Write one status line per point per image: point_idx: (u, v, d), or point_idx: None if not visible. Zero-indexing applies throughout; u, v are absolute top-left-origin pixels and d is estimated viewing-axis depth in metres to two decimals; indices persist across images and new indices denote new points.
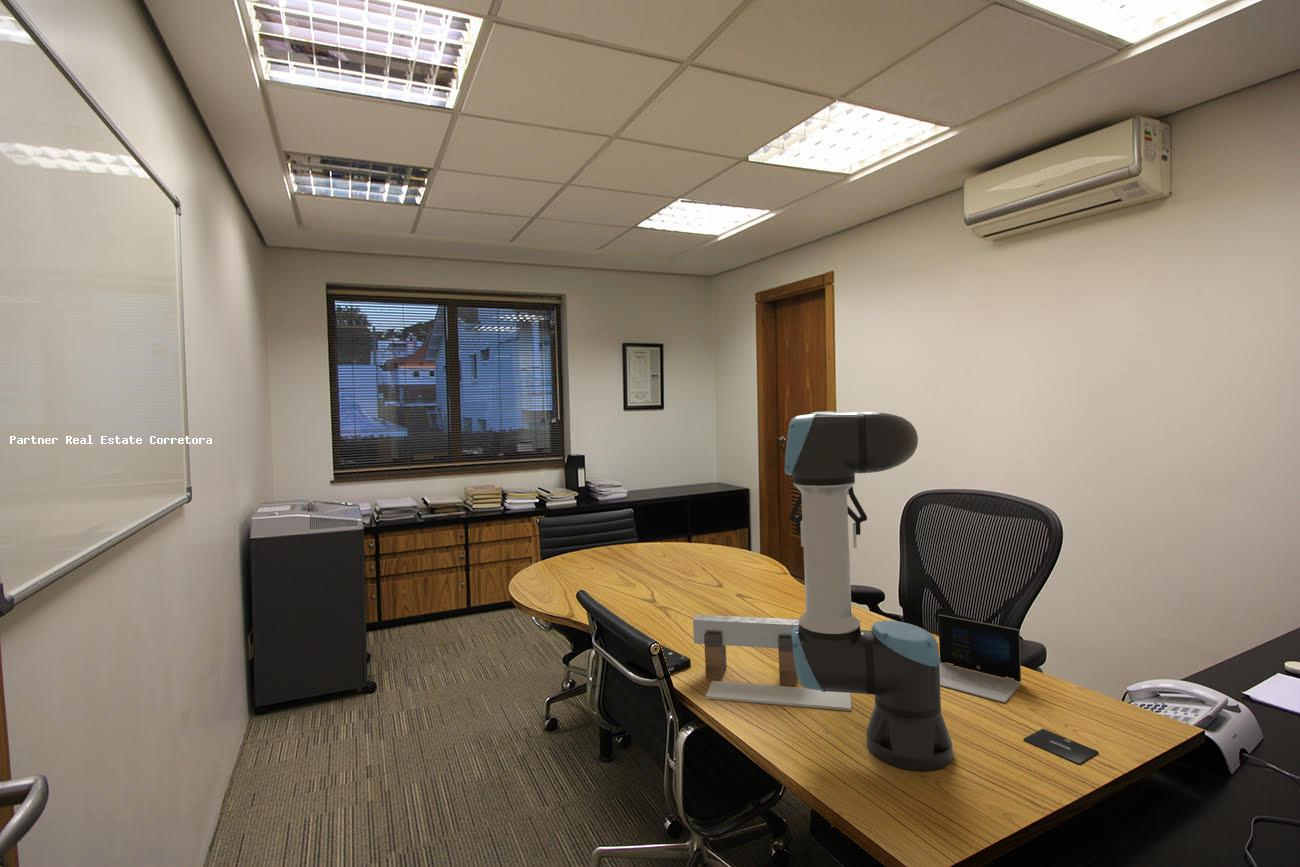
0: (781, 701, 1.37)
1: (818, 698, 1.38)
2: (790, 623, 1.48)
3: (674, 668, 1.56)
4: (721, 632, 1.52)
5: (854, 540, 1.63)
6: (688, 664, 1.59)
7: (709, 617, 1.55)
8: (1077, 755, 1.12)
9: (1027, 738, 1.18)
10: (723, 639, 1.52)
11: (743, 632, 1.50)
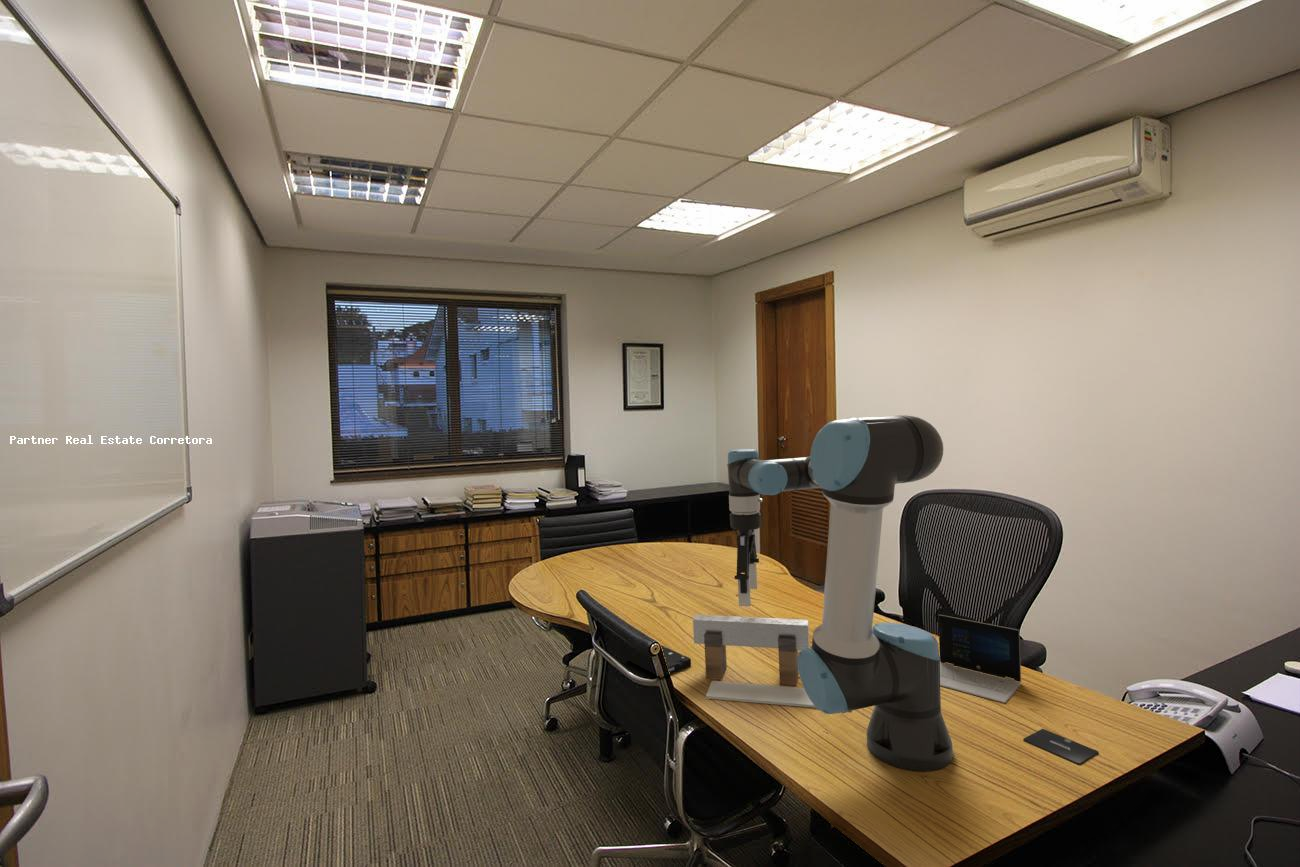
0: (781, 701, 1.37)
1: None
2: (790, 623, 1.48)
3: (675, 668, 1.56)
4: (721, 632, 1.52)
5: None
6: (688, 664, 1.59)
7: (709, 617, 1.55)
8: (1077, 755, 1.12)
9: (1027, 738, 1.18)
10: (723, 639, 1.52)
11: (743, 632, 1.50)
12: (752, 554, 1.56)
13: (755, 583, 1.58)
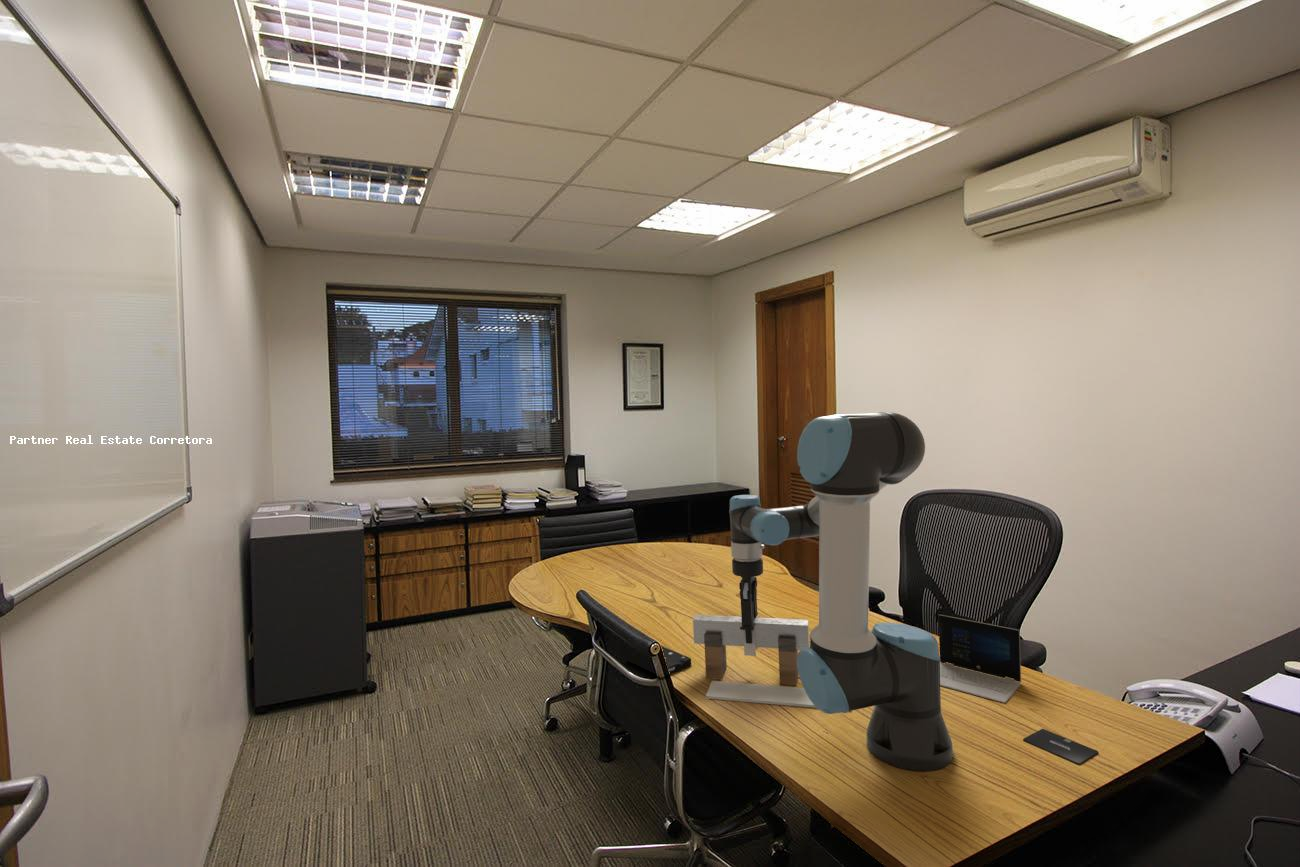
0: (781, 701, 1.37)
1: None
2: (790, 623, 1.48)
3: (675, 668, 1.56)
4: (721, 632, 1.52)
5: (744, 646, 1.50)
6: (689, 664, 1.59)
7: (709, 617, 1.55)
8: (1076, 755, 1.12)
9: (1027, 738, 1.18)
10: (723, 639, 1.52)
11: None
12: (753, 607, 1.53)
13: None
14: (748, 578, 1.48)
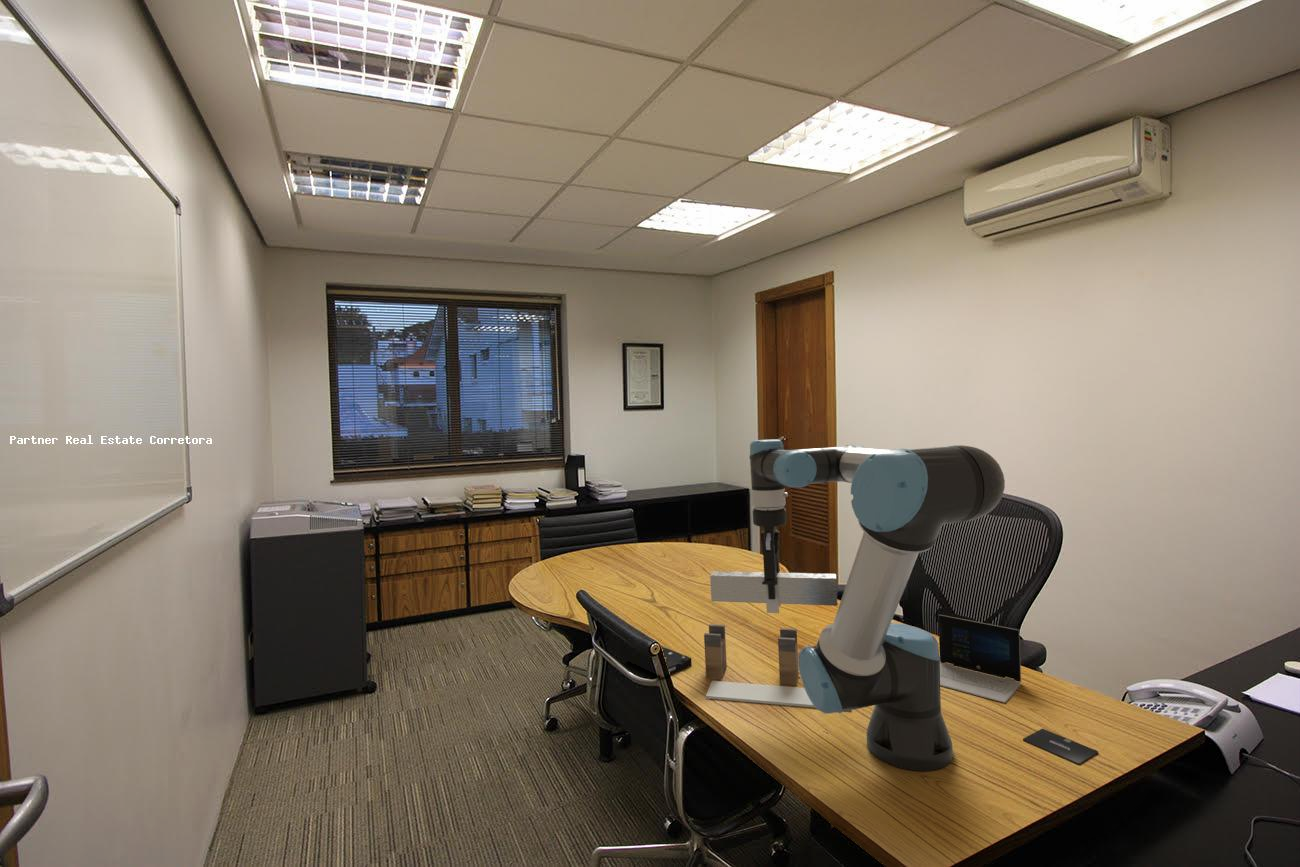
0: (781, 701, 1.37)
1: None
2: (817, 577, 1.36)
3: (676, 667, 1.56)
4: (740, 589, 1.40)
5: (766, 603, 1.38)
6: (689, 663, 1.59)
7: (727, 573, 1.43)
8: (1076, 755, 1.12)
9: (1027, 738, 1.18)
10: (743, 595, 1.40)
11: (765, 587, 1.38)
12: (775, 562, 1.41)
13: None
14: (771, 528, 1.36)
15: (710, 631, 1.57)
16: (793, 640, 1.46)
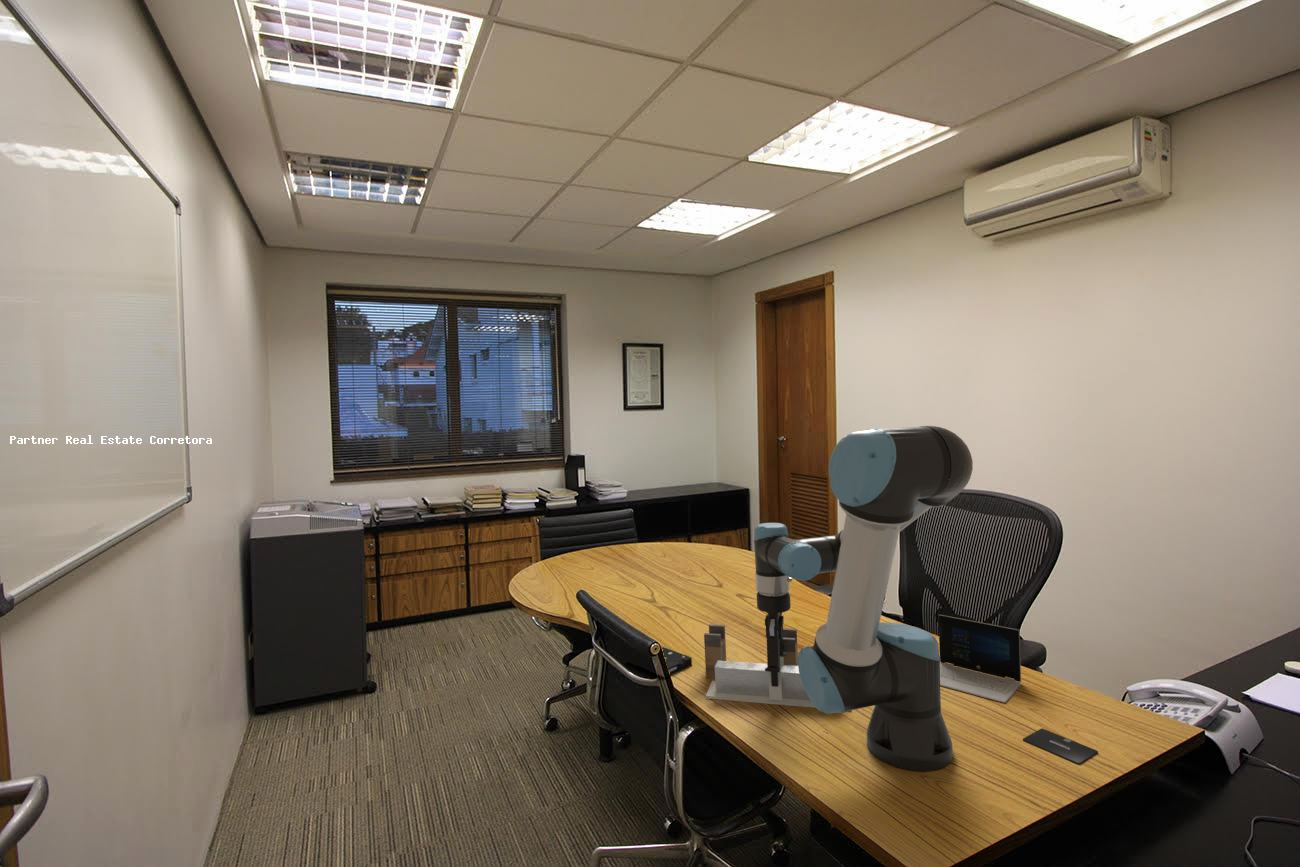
0: (781, 701, 1.37)
1: None
2: None
3: (677, 667, 1.56)
4: (745, 682, 1.41)
5: (769, 689, 1.37)
6: (689, 663, 1.59)
7: (732, 664, 1.44)
8: (1076, 755, 1.12)
9: (1026, 738, 1.18)
10: (748, 689, 1.41)
11: None
12: (779, 643, 1.42)
13: None
14: (775, 613, 1.36)
15: (710, 631, 1.57)
16: (793, 640, 1.46)
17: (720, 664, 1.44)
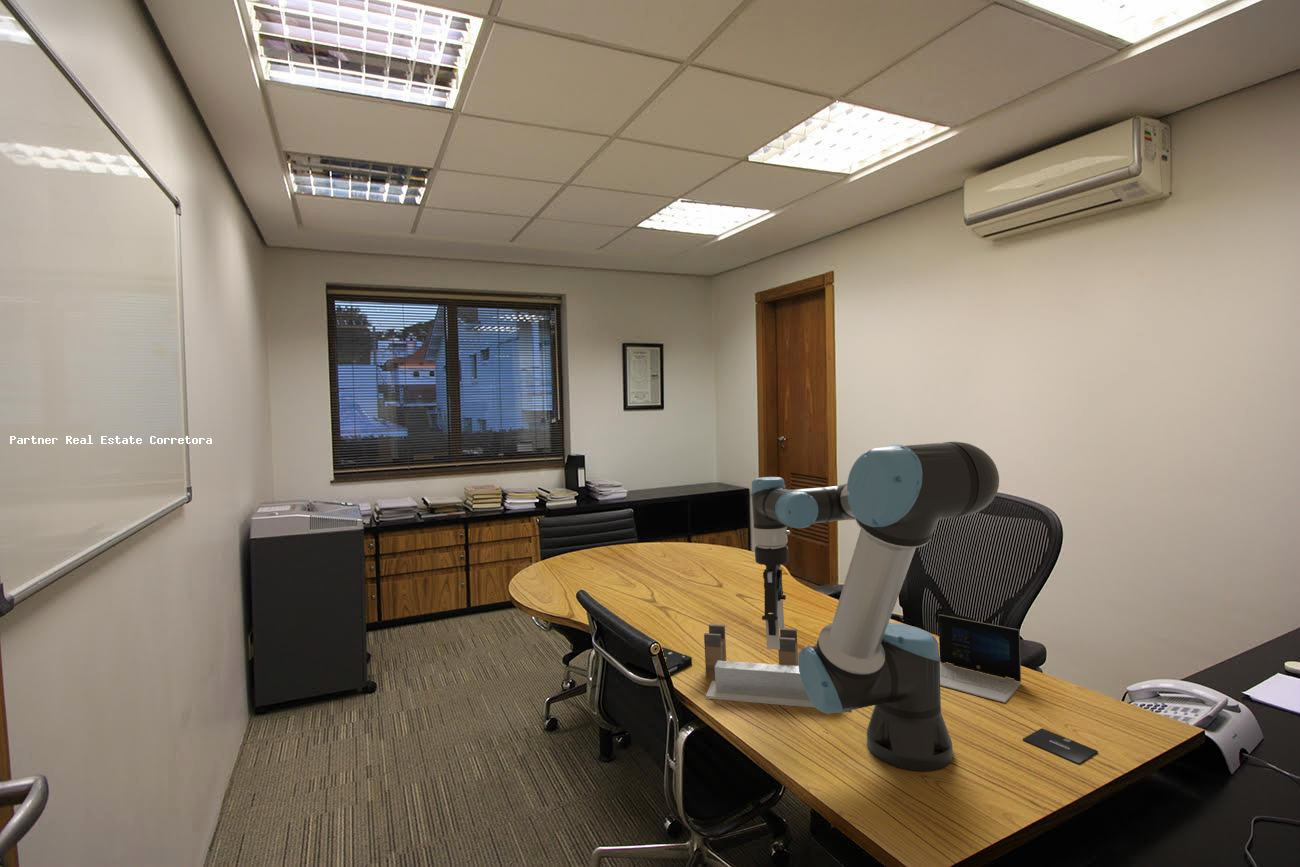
0: (781, 701, 1.37)
1: None
2: None
3: (677, 667, 1.56)
4: (745, 682, 1.41)
5: None
6: (690, 663, 1.60)
7: (732, 664, 1.44)
8: (1076, 755, 1.12)
9: (1026, 738, 1.18)
10: (748, 689, 1.41)
11: (770, 682, 1.39)
12: (779, 591, 1.44)
13: (782, 622, 1.46)
14: None
15: (710, 631, 1.57)
16: (793, 640, 1.46)
17: (720, 664, 1.44)
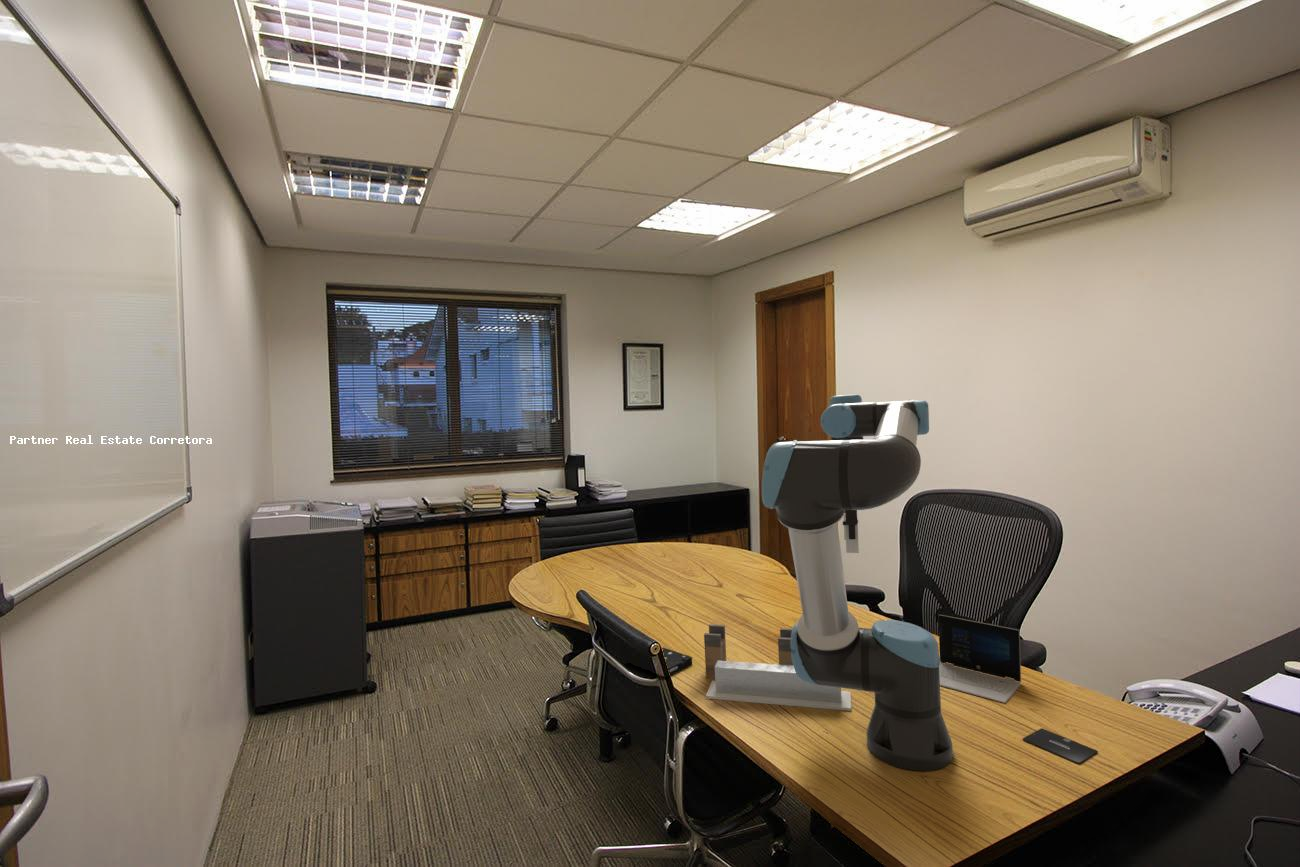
0: (781, 701, 1.37)
1: None
2: None
3: (678, 667, 1.56)
4: (745, 682, 1.41)
5: (846, 543, 1.43)
6: (690, 662, 1.60)
7: (732, 664, 1.44)
8: (1076, 754, 1.12)
9: (1026, 738, 1.18)
10: (748, 689, 1.41)
11: (770, 682, 1.39)
12: None
13: None
14: None
15: (710, 631, 1.57)
16: None
17: (720, 664, 1.44)
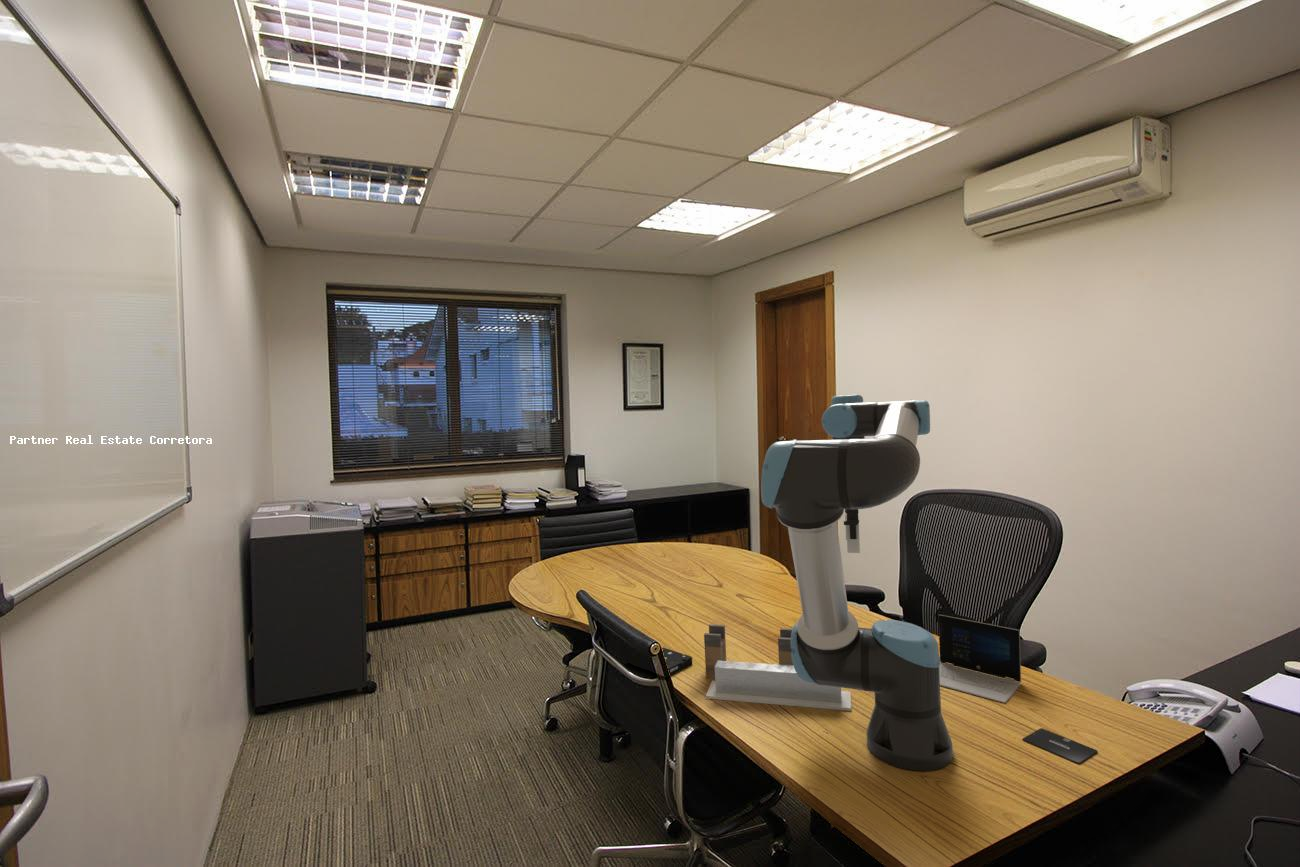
0: (781, 701, 1.37)
1: None
2: None
3: (678, 667, 1.57)
4: (745, 682, 1.41)
5: (847, 543, 1.43)
6: (690, 662, 1.60)
7: (732, 664, 1.44)
8: (1076, 754, 1.12)
9: (1026, 738, 1.18)
10: (748, 689, 1.41)
11: (770, 682, 1.39)
12: None
13: None
14: None
15: (710, 631, 1.57)
16: None
17: (720, 664, 1.44)
